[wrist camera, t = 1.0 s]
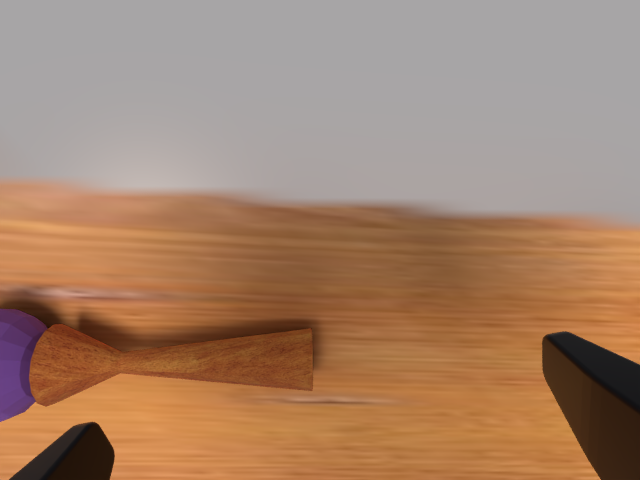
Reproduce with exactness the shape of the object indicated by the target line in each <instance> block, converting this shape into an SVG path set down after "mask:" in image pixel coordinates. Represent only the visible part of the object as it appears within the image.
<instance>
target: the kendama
mask: <svg viewBox="0 0 640 480" xmlns="http://www.w3.org/2000/svg"><path fill="white" fill-rule="evenodd" d="M120 373H124V374H135V375H146V376H157V377H168V378H179V379H189V380H200V381H211V382H222V383H233V384H244V385H254V386H265V387H276V388H287V389H298V390H309V391H312V389H313V343H312V328H309V329H302V330H294V331H286V332H278V333H270V334H262V335H254V336H246V337H238V338H231V339H223V340H215V341H207V342H199V343H191V344H183V345H175V346H167V347H160V348H152V349H144V350H136V351H128V352H122V351H120V350H117V349H115V348H113V347H111V346H109V345H107V344H105V343H102V342H100V341H98V340H96V339H94V338H92V337H90V336H87V335H85V334H83V333H81V332H79V331H77V330H75V329H72V328H70V327H68V326H66V325H64V324H54V325H52V326H51V327H50V328H47V327H46V325H45V324H44V323H43V322H41V321H40V320H38V319H37V318H36V317H34V316H31V315H29V314H27V313H24V312H22V311H20V310H17V309H0V422H1V421H4V420H6V419H9V418H11V417H14V416H16V415H18V414H21V413H23V412H25V411H26V410H27V409H28V408H29V407H30V406H31V405H32V404H33V403H34V402H37V403H38V404H41V405H43V406H49V405H52V404H55V403H57V402H59V401H61V400H63V399H66V398H68V397H70V396H72V395H74V394H76V393H79V392H81V391H83V390H85V389H87V388H89V387H92V386H94V385H96V384H98V383H100V382H102V381H104V380H107V379H109V378H111V377H113V376H115V375H117V374H120Z"/></svg>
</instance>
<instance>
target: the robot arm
mask: <svg viewBox="0 0 640 480" xmlns="http://www.w3.org/2000/svg"><path fill="white" fill-rule="evenodd" d="M542 367H543V374H544V377H545V379H546V382H547V384H548V385H549V387H550V389H551V391H552V393H553V395H554V397H555V399H556V401H557V402H558V404H559V406H560V408H561V410H562V412H563V414H564V416H565V418H566V419H567V421H568V423H569V425H570V427H571V429H572V431H573V433H574V435H575V436H576V438H577V440H578V442H579V444H580V446H581V448H582V449H583V451H584V453H585V455H586V457H587V458H588V460H589V462H590V463H591V465H592V466H593V468H594V469H595V471H596V473H597V474H598V476H599V477H600V479H601V480H640V364H637V363H635V362H633V361H631V360H629V359H626V358H624V357H622V356H620V355H618V354H616V353H613V352H611V351H609V350H607V349H605V348H602V347H600V346H598V345H596V344H594V343H592V342H589V341H587V340H585V339H583V338H581V337H578V336H576V335H574V334H572V333H569V332H566V331H565V332H558V333H552V334H547V335H545V336H544V337H543V341H542ZM114 457H115V455H114V449H113V447H112V445H111V444H110V442H109V440H108V439H107V437H106V435H105V434H104V432H103V430H102V429H101V427H100V426H99V425H98V424H97V423H95V422H89V423H83V424H78V425H75V426H73V427H72V428H70V429H69V430H68V431H67V432H65V433H64V434H63V435H62V436H61V437H59V438H58V439H57V440H56V441H55V442H53V443H52V444H51V445H50V446H49V447H47V448H46V449H45V450H44V451H43V452H41V453H40V454H39V455H38V456H37V457H35V458H34V459H33V460H32V461H31V462H29V463H28V464H27V465H26V466H25V467H23V468H22V469H21V470H20V471H19V472H17V473H16V474H15V475H14V476H13V477H11V478H10V479H9V480H110V476H111V472H112V468H113V464H114Z"/></svg>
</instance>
